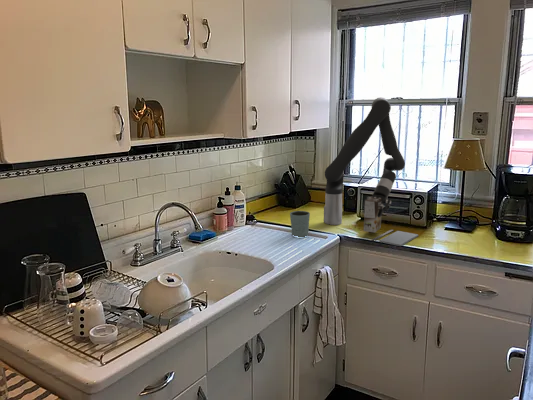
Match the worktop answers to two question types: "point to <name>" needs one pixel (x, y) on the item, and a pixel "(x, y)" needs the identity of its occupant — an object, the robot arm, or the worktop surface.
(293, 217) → the grey green cup
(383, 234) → the tan thin rod
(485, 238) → the worktop surface
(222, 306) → the worktop surface
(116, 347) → the worktop surface
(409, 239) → the mat
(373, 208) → the coffee box
